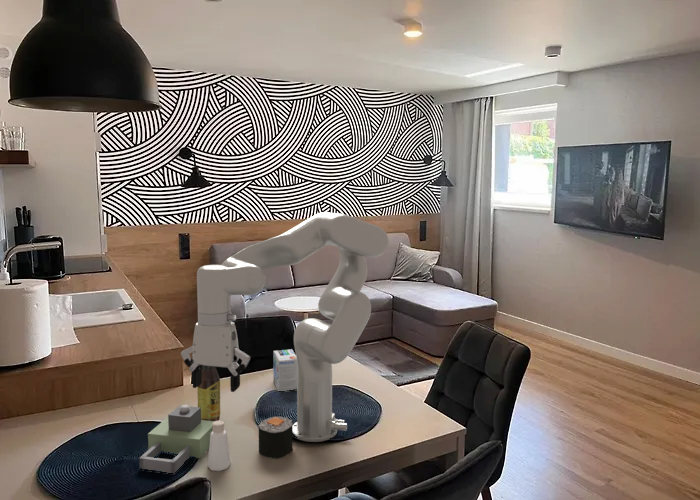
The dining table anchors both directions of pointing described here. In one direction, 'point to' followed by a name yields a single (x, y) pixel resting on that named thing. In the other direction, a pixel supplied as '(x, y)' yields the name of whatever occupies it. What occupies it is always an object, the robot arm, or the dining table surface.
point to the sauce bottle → (209, 394)
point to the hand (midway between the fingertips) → (215, 387)
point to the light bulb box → (285, 370)
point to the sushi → (275, 437)
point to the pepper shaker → (218, 448)
